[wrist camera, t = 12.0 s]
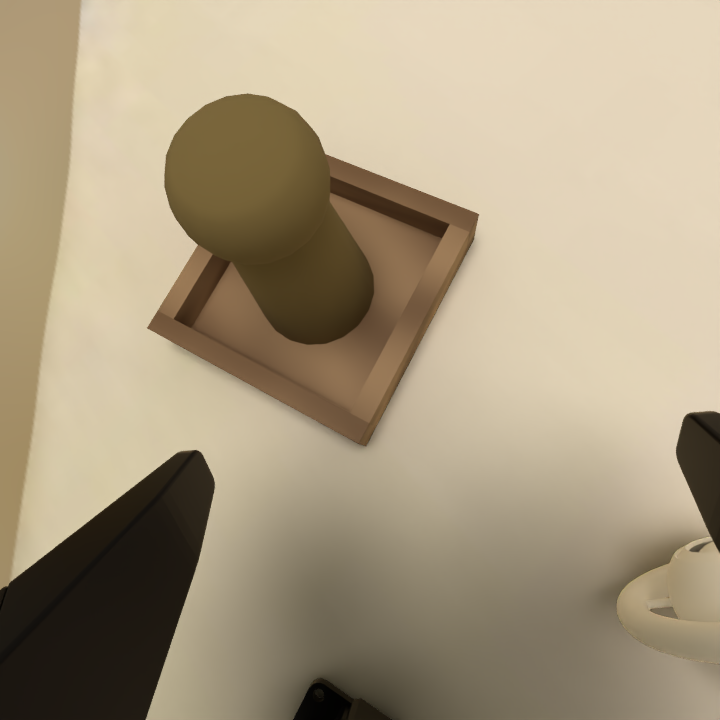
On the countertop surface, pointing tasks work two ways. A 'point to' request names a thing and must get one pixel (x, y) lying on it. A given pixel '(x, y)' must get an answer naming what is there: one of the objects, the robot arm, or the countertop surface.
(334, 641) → the countertop surface
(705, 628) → the ring around a ball
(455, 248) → the walnut tray
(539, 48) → the countertop surface
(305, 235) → the cork
